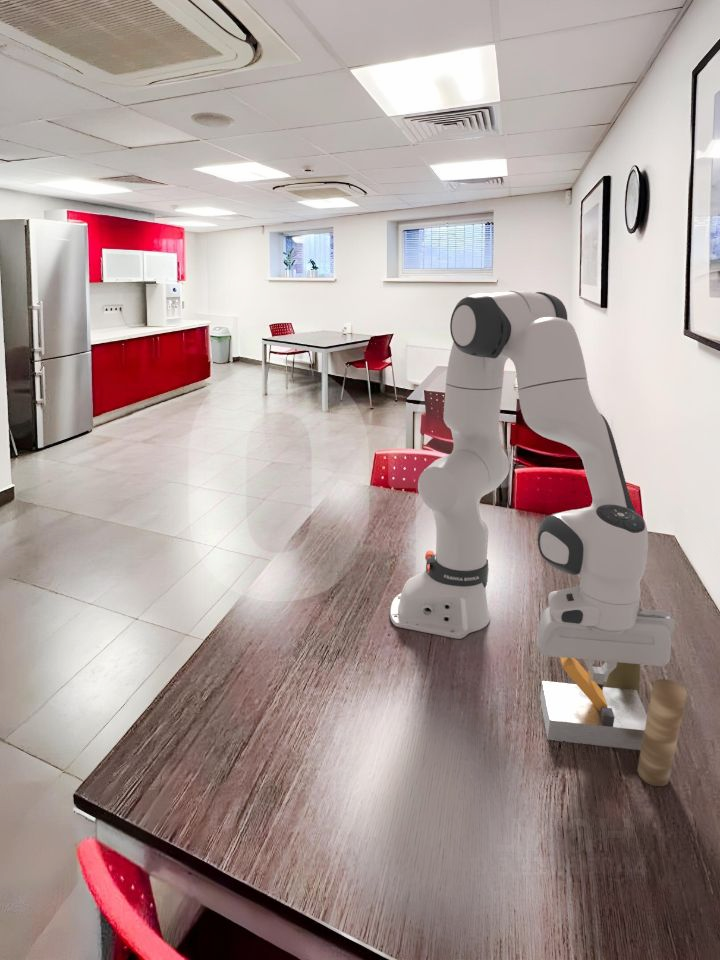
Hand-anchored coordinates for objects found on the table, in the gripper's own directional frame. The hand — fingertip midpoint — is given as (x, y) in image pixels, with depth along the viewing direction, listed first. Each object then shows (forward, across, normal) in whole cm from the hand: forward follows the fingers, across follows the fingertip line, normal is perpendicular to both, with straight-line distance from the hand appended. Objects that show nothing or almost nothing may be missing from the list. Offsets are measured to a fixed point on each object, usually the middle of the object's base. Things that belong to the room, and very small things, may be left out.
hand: (596, 679), depth 97 cm
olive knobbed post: (+9, -7, -9) cm, 15 cm away
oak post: (+9, -7, +10) cm, 15 cm away
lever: (+4, -1, 0) cm, 5 cm away
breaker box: (+9, 0, 0) cm, 9 cm away
